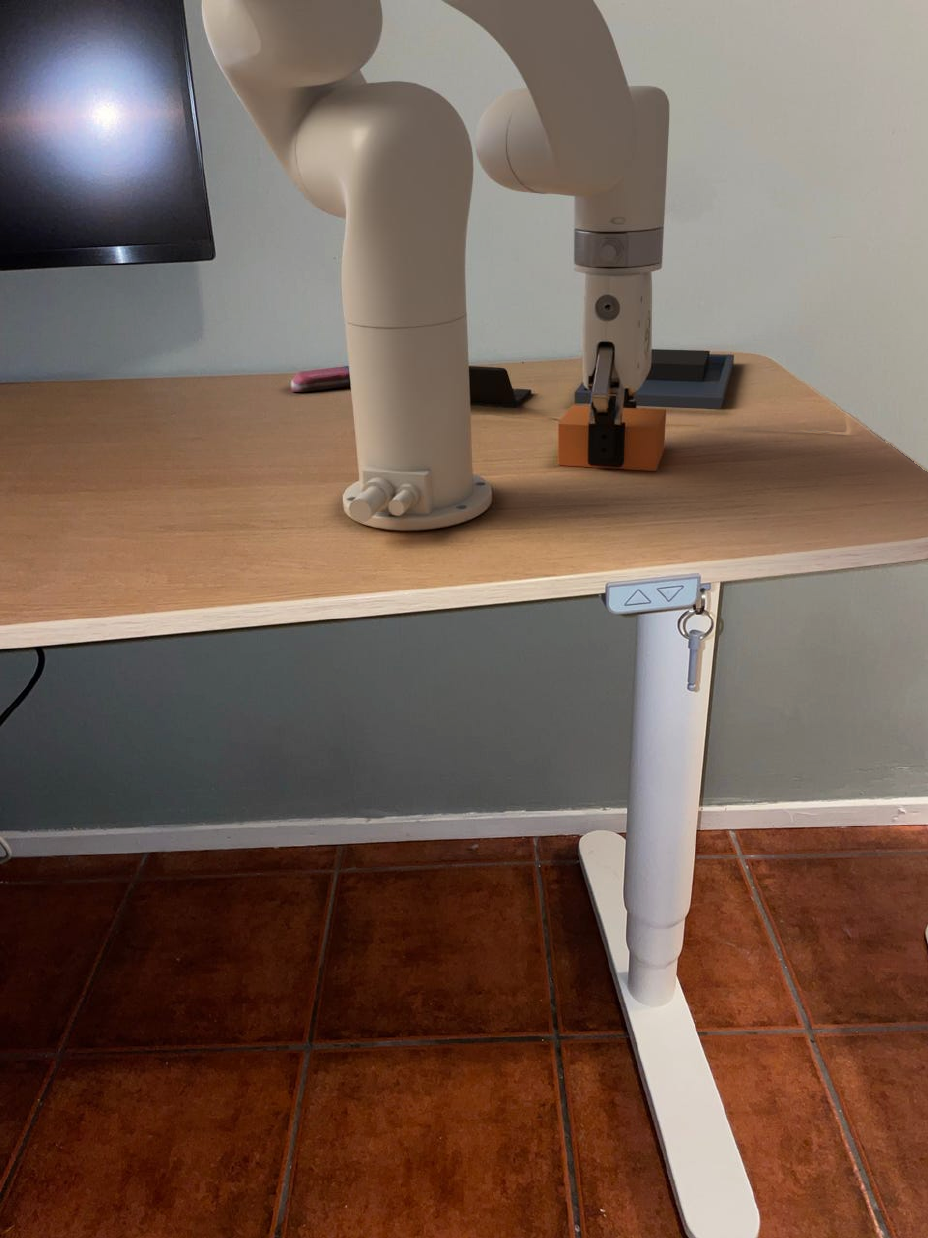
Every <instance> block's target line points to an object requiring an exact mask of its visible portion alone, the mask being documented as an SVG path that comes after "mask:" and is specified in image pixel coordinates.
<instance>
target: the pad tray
mask: <svg viewBox="0 0 928 1238" xmlns="http://www.w3.org/2000/svg"><path fill="white" fill-rule="evenodd" d="M734 361H735V355H734V354H728V353H727V354H725V353H709V367H708V370H707V372H706V375H705V378H704V381H703V382H693V381H665V380H645V381H644V382H643V384H642V386H641V387H640V388H639V389H638V390H637V391H636V396H635V401H630V402H637V404H636V407H651V408H652V407H653V408H673V409H674V408H677V409H699V410H722V409H723V405H724V400H725V397H726V393H727V389H728V386H729V382H730V379H731V374H732V371H733V367H734ZM612 384H613V382H612ZM591 393H592V390H591V391H590V390H588V389H587V388H586V387H585V386H584V384H583V381H582V382H581V383H580V385H579V386H578V387H577V388H576V390H575V391H574V404H581V405H591Z"/></svg>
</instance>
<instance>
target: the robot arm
mask: <svg viewBox="0 0 928 1238" xmlns="http://www.w3.org/2000/svg"><path fill="white" fill-rule="evenodd" d="M441 1H442V2H444V3H445V4H446V5H448V6H450V7H452V8H453V9H455V10H457V11H458V12H460V13H461V14H463V15H465V16H466V17H468V18H470V19H471V20H472V21H473V22H474V23H476V24H478V25H479V26H480V27H481V28H482V29H483V30H485V31H486V32H487V33H488V35H490V37H492V38H493V39H494V40H495V41H496V42H497V44H499V46H500V47H501V48H502V49H503V51H504V52H505V53H506V54H507V56H508V57H509V58H510V60H511V61H512V63H513V64H514V66H515V67H516V69H517V70H518V73H519V74H520V76H521V79H522V80H523V81H524V83H525V85H526V87H522V88H518V89H513V90H511V91H508V92H506V93H503V94H502V95H500V96H498V97H497V98H496V99H495V100H493V101H492V102H491V103H490V104H489V105H488V106H487V108H486V109H485V110H484V111H483V113H482V115H481V116H480V118H479V120H478V122H477V126H476V130H475V136H474V147H475V152H476V156H477V160H478V162H479V164H480V166H481V168H482V170H483V171H484V173H485V174H486V175H487V176H488V177H489V178H490V179H491V180H492V181H493V182H495V183H497V184H498V185H500V186H501V187H504V188H506V189H508V190H511V191H515V192H521V193H529V194H540V195H549V194H550V195H559V196H560V195H561V196H568V197H573V198H574V203H573V204H574V209H573V214H574V215H573V228H574V229H573V271H575V272H578V273H581V274H585V277H584V296H583V317H582V318H583V319H582V320H583V322H582V323H583V324H582V382H583V384H584V386H585V387H586V388H587V389H588V390H590V391H591V390H592V393H591V404H589V406H590V417H589V426H588V463H589V465H591V466H606V467H621V466H622V465H623V463H624V446H625V423H624V422H622V415H623V408H637V406H636V404H637V402H630V401H635V396H636V391H637V390H638V389H639V388H640V387H641V386H642V384H643V382H644V381H645V379H646V377H647V375H648V373H649V371H650V368H651V351H652V349H653V348H652V346H653V345H652V342H653V341H652V338H653V337H652V335H653V334H652V333H653V276H652V272H655V271H660V270H661V269H662V268H663V257H664V256H663V255H664V239H665V237H664V236H665V217H666V215H665V214H666V197H667V196H666V195H667V178H668V177H667V176H668V175H667V174H668V156H669V155H668V154H669V134H670V101H669V96H668V95H667V93H666V92H665V91H664V90H663V89H662V88H660V87H657V86H653V85H652V86H651V85H629V84H628V80H627V77H626V74H625V71H624V67H623V64H622V61H621V59H620V55H619V52H618V50H617V47H616V44H615V41H614V37H613V36H612V33H611V31H610V28H609V26H608V24H607V22H606V20H605V18H604V16H603V14H602V12H601V10H600V8H599V7H598V5H597V4H596V2H595V1H594V0H441ZM201 15H202V24H203V27H204V31H205V32H204V33H205V35H206V38H207V41H208V44H209V47H210V49H211V52H212V55H213V57H214V59H215V61H216V63H217V65H218V66H219V69H220V70H221V72H222V74H223V76H224V78H225V79H226V80H227V82H228V84H229V85H230V87H231V89H232V91H233V92H234V94H235V95H236V96H237V99H239V101H240V103H241V105H242V106H243V108H244V110H245V112H246V113H247V114H248V116H249V117H250V119H251V121H252V122H253V124H254V125H255V127H256V128H257V130H258V132H259V133H260V135H261V136H262V138H263V140H264V141H265V143H266V145H267V146H268V147H269V149H270V151H271V152H272V153H273V155H274V157H275V159H276V160H277V162H278V163H279V164H280V166H281V168H282V169H283V171H284V172H285V174H286V175H287V177H288V178H289V179H290V181H291V182H292V184H293V185H294V186H295V187H296V189H297V190H298V191H299V192H300V194H301V195H302V196H303V197H304V198H305V199H306V200H307V201H308V202H309V203H310V204H312V205H313V206H314V207H315V208H317V209H318V210H321V211H322V212H324V213H326V214H328V215H331V216H334V217H337V218H342V219H345V228H344V236H343V237H344V239H343V247H342V255H341V274H340V275H341V277H340V278H341V297H342V298H341V299H342V311H343V320H344V328H345V329H344V330H345V337H346V349H347V358H348V359H347V360H348V366H349V372H350V383H351V386H350V391H351V403H352V404H351V405H352V413H353V415H352V416H353V426H354V434H355V447H356V455H357V456H356V457H357V467H358V468H357V469H358V480H357V481H355V482H354V483H352V484H351V485H350V486H348V487H347V488H346V489H345V491H344V493H343V494H342V505H343V510H344V513H345V514H346V515H347V516H348V517H349V518H350V519H352V520H353V521H355V522H357V523H359V524H362V525H363V526H368V527H370V528H375V529H380V530H389V531H400V532H401V531H404V532H405V531H408V532H409V531H425V530H427V531H428V530H436V529H440V528H441V529H442V528H448V527H451V526H456V525H459V524H462V523H465V522H468V521H471V520H473V519H474V518H477V517H479V516H480V515H481V514H483V513H484V512H485V511H487V510H488V509H489V507H490V506H491V505H492V501H493V491H492V486H491V484H490V483H489V481H487V480H486V479H484V478H483V477H482V476H481V475H478V474H475V473H473V471H474V470H473V446H472V443H473V442H472V421H471V420H472V419H471V416H472V415H471V405H470V388H469V366H470V365H469V364H470V363H469V362H470V361H469V339H468V337H469V335H468V312H467V291H466V290H467V288H466V287H467V285H466V251H467V250H466V248H467V235H468V222H469V215H470V207H471V201H472V192H473V185H474V153H473V146H472V143H471V138H470V135H469V132H468V129H467V127H466V125H465V123H464V122H465V121H464V120H463V118H462V117H461V115H460V114H459V112H458V111H457V109H456V108H455V107H454V106H453V105H452V104H451V103H450V101H449V100H448V99H446V98H445V97H444V96H443V95H441V94H440V93H439V92H437V91H435V90H433V89H432V88H430V87H427V86H425V85H421V84H419V83H415V82H411V81H403V80H401V81H400V80H399V81H398V80H392V81H391V80H389V81H379V82H376V81H375V82H367V80H366V77H364V74H363V72H362V71H361V69H363V67H365V65H366V64H367V63H368V62H369V61H370V60H371V59H372V57H373V56H374V54H375V52H376V50H377V48H378V46H379V43H380V41H381V36H382V31H383V23H384V22H383V21H384V18H383V15H384V14H383V8H382V2H381V0H201ZM612 382H613V384H612Z"/></svg>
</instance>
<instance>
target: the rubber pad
mask: <svg viewBox="0 0 928 1238" xmlns="http://www.w3.org/2000/svg"><path fill="white" fill-rule="evenodd" d="M709 354H711V353H710V350H700V349H698V350H697V349H661V348H652V351H651V368H650V371H649V373H648V375H647V377H646V379H645V380H665V381H693V382H703V381H704V378H705V375H706V372H707V370H708V367H709Z"/></svg>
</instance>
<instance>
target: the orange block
mask: <svg viewBox="0 0 928 1238" xmlns="http://www.w3.org/2000/svg"><path fill="white" fill-rule="evenodd" d="M589 417H590V405H589V406H588V405H570V407H569V408H568V409H567V411H566V413H565V414H564V415H563V417H562V418H561V419H560V420H559V422H558V425H557V435H558V436H557V465H558V466H562V467H563V466H565V467H579V468H596V469H613V470H630V471H645V472H646V471H647V472H657V469H658V467H659V464H660V462H661V459H662V456H663V454H664V452H665V440H666V423H667V409H659V408H658V409H657V408H637V407H636V408H623V415H622V422H624V423H625V446H624V463H623V465H622V466H621V467H606V466H591V465H589V463H588V426H589Z"/></svg>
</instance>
